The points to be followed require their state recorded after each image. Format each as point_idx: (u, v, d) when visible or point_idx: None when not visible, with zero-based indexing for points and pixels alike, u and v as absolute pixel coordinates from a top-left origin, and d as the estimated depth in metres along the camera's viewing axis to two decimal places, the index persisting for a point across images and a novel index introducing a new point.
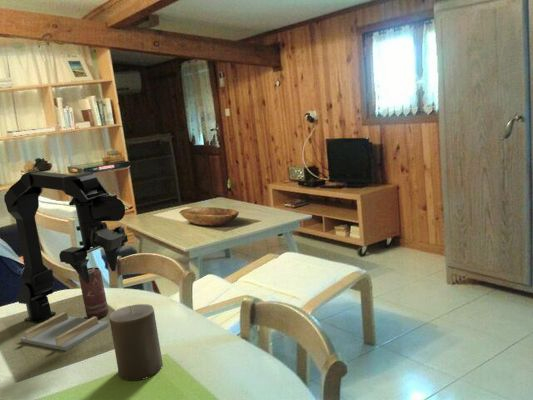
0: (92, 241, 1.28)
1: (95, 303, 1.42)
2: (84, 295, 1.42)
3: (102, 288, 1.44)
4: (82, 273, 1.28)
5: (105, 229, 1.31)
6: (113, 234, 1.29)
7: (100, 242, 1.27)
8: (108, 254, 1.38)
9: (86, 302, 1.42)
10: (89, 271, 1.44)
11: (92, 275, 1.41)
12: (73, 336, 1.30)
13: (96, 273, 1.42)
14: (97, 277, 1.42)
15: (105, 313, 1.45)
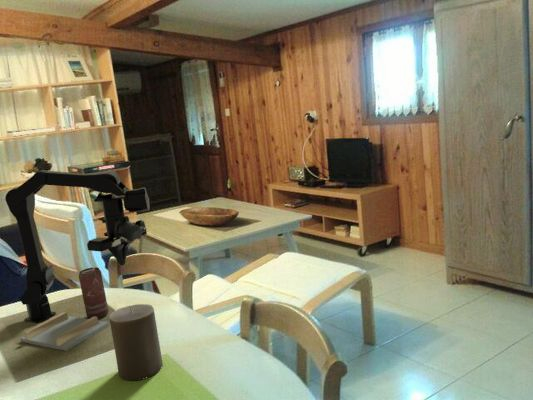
0: (116, 232, 1.44)
1: (95, 303, 1.42)
2: (84, 295, 1.42)
3: (102, 288, 1.44)
4: (118, 256, 1.48)
5: (127, 222, 1.46)
6: (135, 227, 1.44)
7: (123, 233, 1.43)
8: None
9: (86, 302, 1.42)
10: (89, 271, 1.44)
11: (92, 275, 1.41)
12: (73, 336, 1.30)
13: (96, 273, 1.42)
14: (97, 277, 1.42)
15: (105, 313, 1.45)
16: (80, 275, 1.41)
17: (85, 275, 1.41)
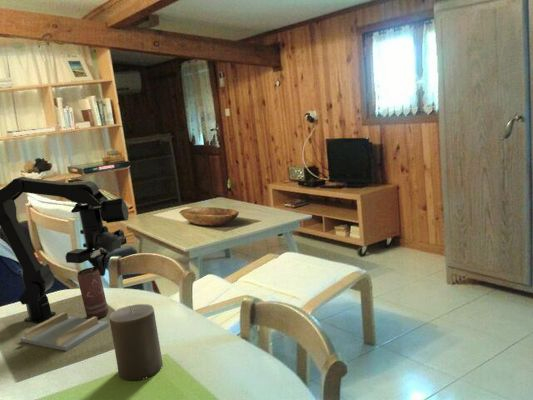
0: (94, 243, 1.42)
1: (94, 303, 1.42)
2: (83, 296, 1.42)
3: (101, 288, 1.43)
4: (98, 267, 1.46)
5: (106, 232, 1.45)
6: (114, 237, 1.43)
7: (102, 244, 1.41)
8: None
9: (85, 302, 1.42)
10: (87, 271, 1.43)
11: (91, 276, 1.41)
12: (73, 336, 1.30)
13: (95, 273, 1.41)
14: (96, 277, 1.42)
15: (105, 313, 1.44)
16: (78, 276, 1.41)
17: (83, 276, 1.40)
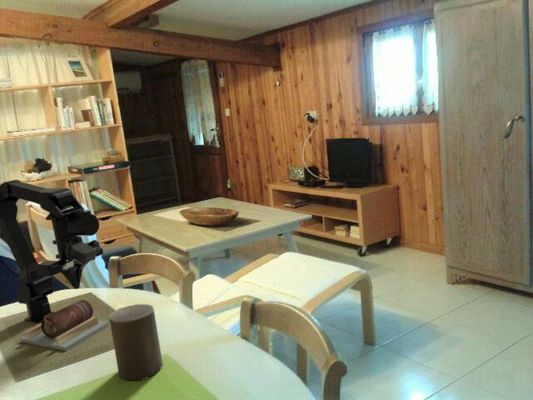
0: (67, 254, 1.34)
1: (81, 321, 1.38)
2: None
3: (71, 314, 1.35)
4: (71, 279, 1.38)
5: (80, 243, 1.36)
6: (88, 248, 1.35)
7: (75, 255, 1.33)
8: None
9: None
10: (49, 326, 1.31)
11: (60, 330, 1.30)
12: (73, 336, 1.30)
13: (59, 325, 1.30)
14: (62, 324, 1.31)
15: (91, 308, 1.42)
16: None
17: (56, 335, 1.31)
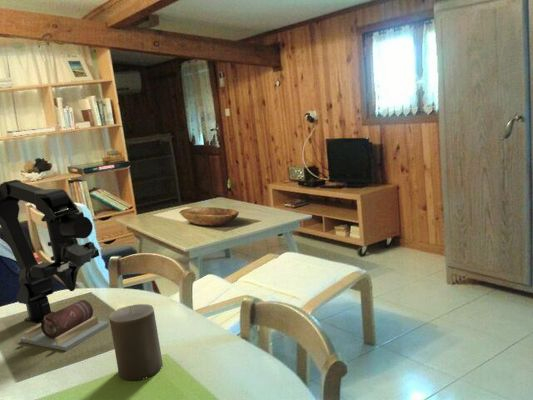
0: (62, 256, 1.32)
1: (81, 321, 1.38)
2: None
3: (71, 314, 1.35)
4: (66, 281, 1.36)
5: (75, 244, 1.35)
6: (83, 250, 1.33)
7: (70, 257, 1.32)
8: None
9: None
10: (49, 326, 1.31)
11: (60, 330, 1.30)
12: (73, 336, 1.30)
13: (59, 325, 1.30)
14: (62, 324, 1.31)
15: (91, 308, 1.42)
16: None
17: (56, 335, 1.31)
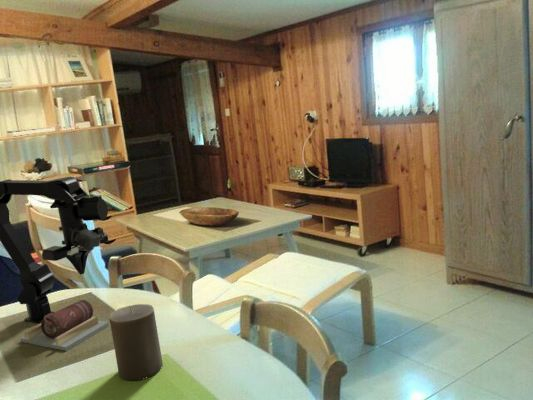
0: (72, 240, 1.38)
1: (81, 321, 1.38)
2: None
3: (71, 314, 1.35)
4: (76, 265, 1.42)
5: (85, 230, 1.41)
6: (92, 234, 1.39)
7: (79, 242, 1.37)
8: None
9: None
10: (49, 326, 1.31)
11: (60, 330, 1.30)
12: (73, 336, 1.30)
13: (59, 325, 1.30)
14: (62, 324, 1.31)
15: (91, 308, 1.42)
16: None
17: (56, 335, 1.31)
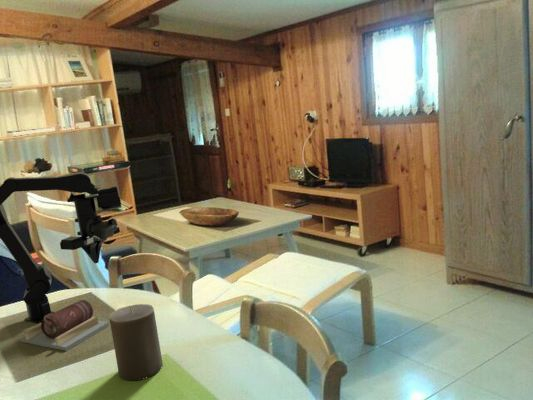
0: (88, 231, 1.47)
1: (81, 321, 1.38)
2: None
3: (71, 314, 1.35)
4: (91, 254, 1.52)
5: (100, 221, 1.50)
6: (107, 225, 1.48)
7: (95, 232, 1.47)
8: None
9: None
10: (49, 326, 1.31)
11: (60, 330, 1.30)
12: (73, 336, 1.30)
13: (59, 325, 1.30)
14: (62, 324, 1.31)
15: (91, 308, 1.42)
16: None
17: (56, 335, 1.31)
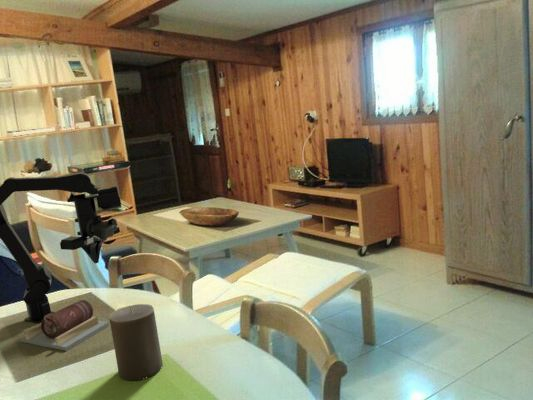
0: (88, 231, 1.47)
1: (81, 321, 1.38)
2: None
3: (71, 314, 1.35)
4: (91, 254, 1.52)
5: (100, 221, 1.50)
6: (107, 225, 1.48)
7: (95, 232, 1.47)
8: None
9: None
10: (49, 326, 1.31)
11: (60, 330, 1.30)
12: (73, 336, 1.30)
13: (59, 325, 1.30)
14: (62, 324, 1.31)
15: (91, 308, 1.42)
16: None
17: (56, 335, 1.31)
